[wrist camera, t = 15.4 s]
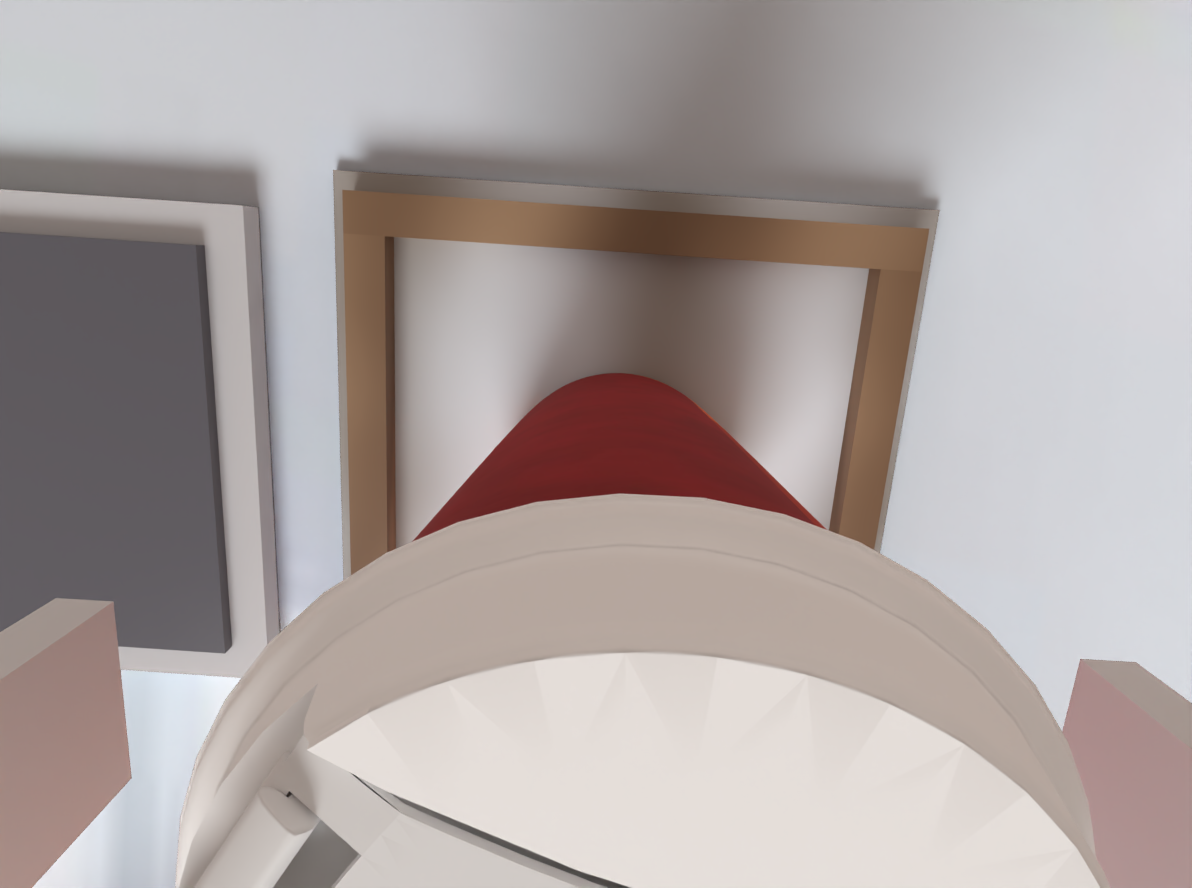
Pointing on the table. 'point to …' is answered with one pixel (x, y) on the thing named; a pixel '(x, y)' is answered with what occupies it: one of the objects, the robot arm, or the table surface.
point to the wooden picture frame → (616, 332)
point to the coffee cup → (633, 695)
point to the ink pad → (138, 424)
